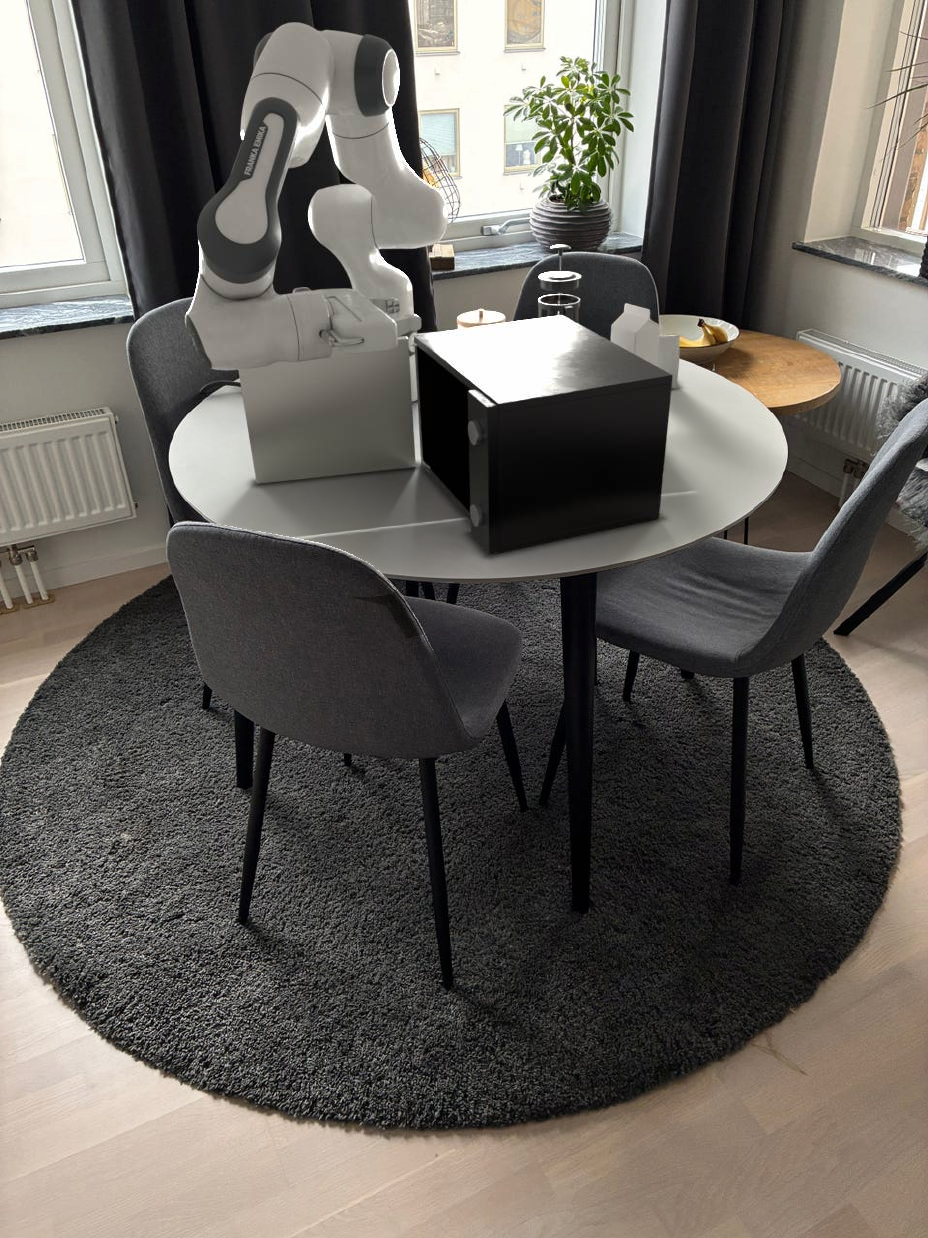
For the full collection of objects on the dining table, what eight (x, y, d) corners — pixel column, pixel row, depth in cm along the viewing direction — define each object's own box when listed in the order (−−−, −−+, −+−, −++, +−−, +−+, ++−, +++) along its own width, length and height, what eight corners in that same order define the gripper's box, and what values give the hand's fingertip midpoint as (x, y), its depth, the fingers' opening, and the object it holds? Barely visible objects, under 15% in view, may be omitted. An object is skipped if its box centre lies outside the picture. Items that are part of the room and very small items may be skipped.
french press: (529, 350, 211) (530, 242, 199) (568, 345, 213) (571, 238, 201) (548, 365, 202) (550, 253, 189) (588, 360, 204) (593, 249, 191)
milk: (628, 439, 167) (637, 313, 154) (604, 429, 171) (611, 306, 159) (652, 430, 170) (663, 306, 157) (628, 420, 174) (636, 299, 161)
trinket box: (511, 346, 214) (511, 304, 209) (497, 360, 206) (496, 317, 200) (466, 343, 217) (465, 301, 212) (451, 357, 209) (449, 314, 203)
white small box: (676, 387, 188) (681, 338, 182) (642, 389, 188) (646, 339, 182) (672, 381, 191) (677, 332, 185) (639, 383, 191) (643, 333, 185)
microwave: (484, 556, 132) (481, 406, 120) (407, 467, 159) (399, 337, 147) (659, 518, 140) (672, 374, 128) (558, 439, 167) (562, 314, 155)
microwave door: (256, 467, 160) (235, 340, 148) (409, 451, 164) (401, 326, 152) (256, 484, 154) (235, 353, 142) (415, 466, 158) (408, 338, 147)
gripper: (328, 321, 117) (432, 307, 121) (292, 285, 133) (385, 274, 137) (333, 371, 120) (434, 356, 124) (298, 329, 136) (388, 317, 140)
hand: (408, 312), depth 131 cm, fingers open, 8 cm apart
